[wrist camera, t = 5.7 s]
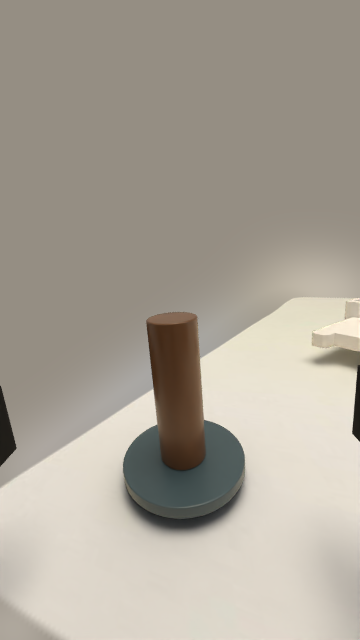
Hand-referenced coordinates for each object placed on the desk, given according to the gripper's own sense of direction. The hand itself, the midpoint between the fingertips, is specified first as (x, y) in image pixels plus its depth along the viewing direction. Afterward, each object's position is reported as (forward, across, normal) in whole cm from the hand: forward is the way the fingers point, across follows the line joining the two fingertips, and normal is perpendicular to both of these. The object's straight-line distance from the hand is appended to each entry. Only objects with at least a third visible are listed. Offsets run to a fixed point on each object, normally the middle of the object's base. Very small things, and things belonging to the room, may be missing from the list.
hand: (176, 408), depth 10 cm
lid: (+3, 0, -5) cm, 6 cm away
